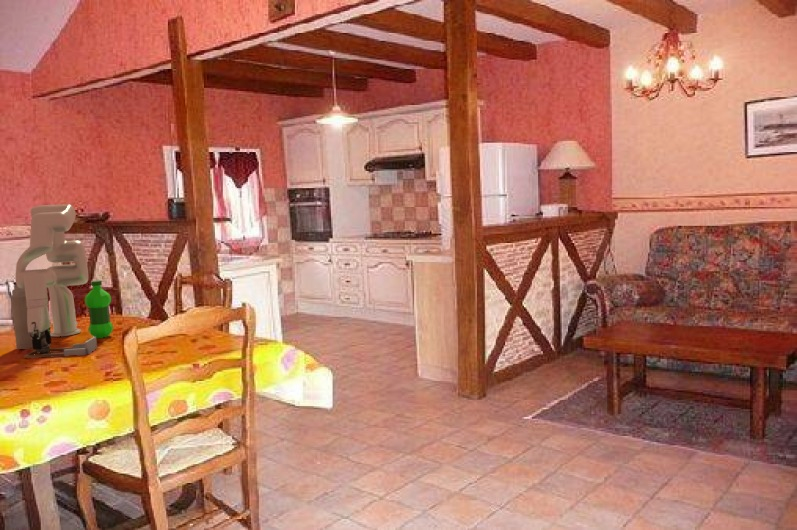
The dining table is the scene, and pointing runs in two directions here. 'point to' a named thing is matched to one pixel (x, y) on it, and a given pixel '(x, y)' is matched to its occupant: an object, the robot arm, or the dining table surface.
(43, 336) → the dark grey chess piece
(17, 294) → the thermos bottle
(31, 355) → the channel
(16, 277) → the robot arm
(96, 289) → the plastic bottle
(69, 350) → the socket
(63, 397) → the dining table surface
